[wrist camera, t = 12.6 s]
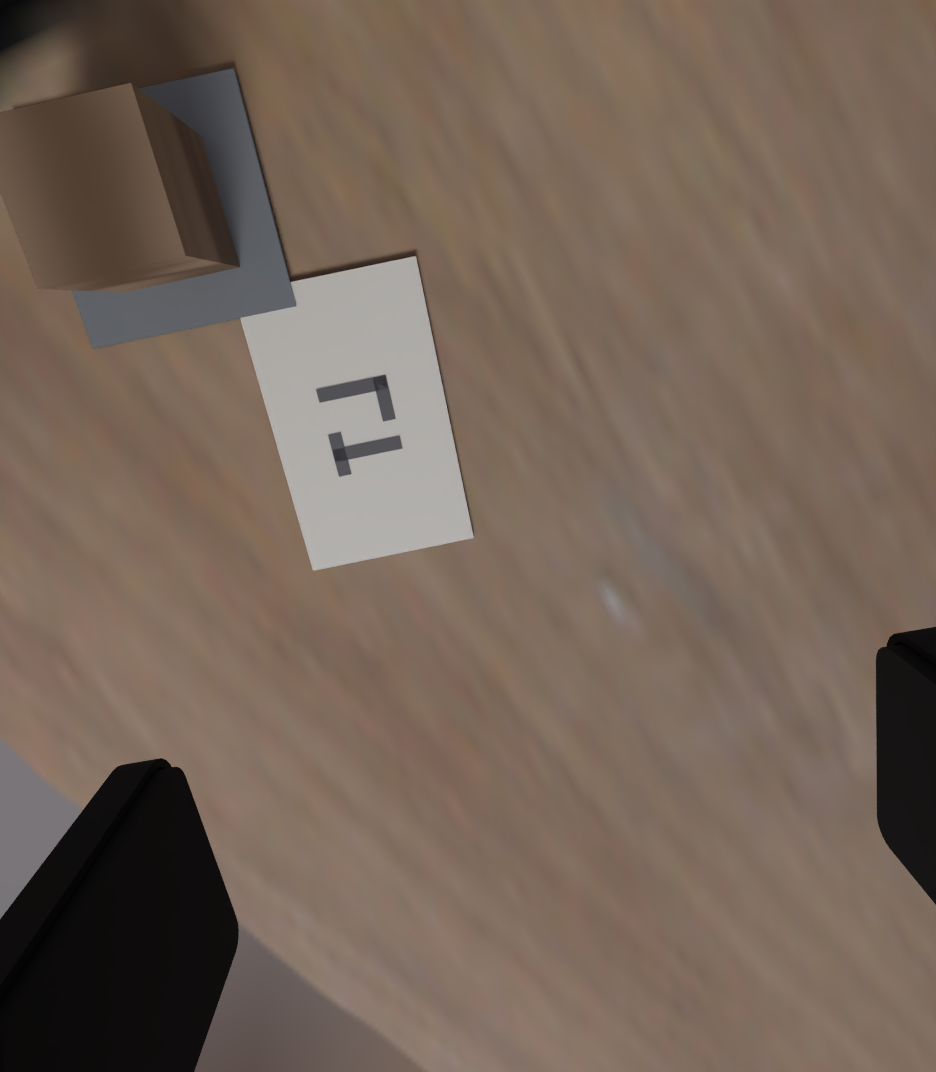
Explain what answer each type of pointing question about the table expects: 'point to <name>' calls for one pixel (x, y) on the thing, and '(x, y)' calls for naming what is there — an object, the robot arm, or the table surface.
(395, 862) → the table surface
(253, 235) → the rubber mat
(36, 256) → the walnut block
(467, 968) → the table surface
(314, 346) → the card
